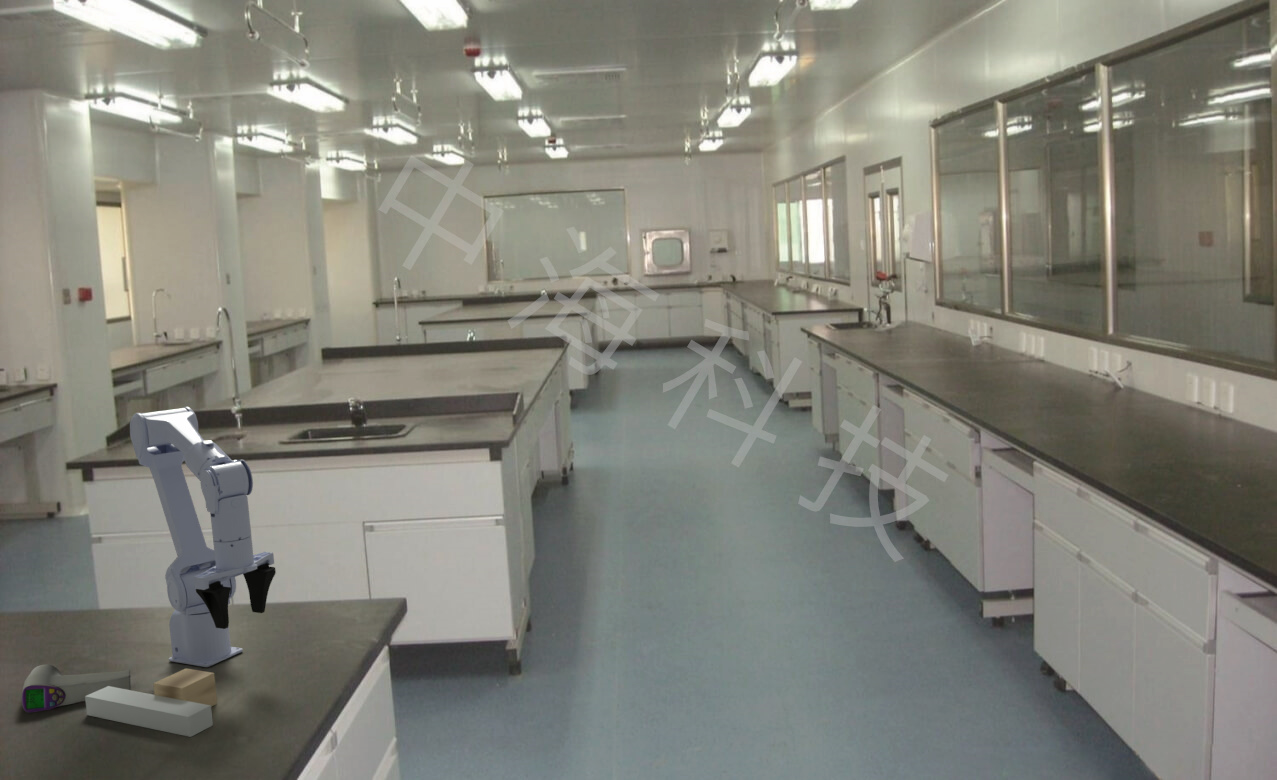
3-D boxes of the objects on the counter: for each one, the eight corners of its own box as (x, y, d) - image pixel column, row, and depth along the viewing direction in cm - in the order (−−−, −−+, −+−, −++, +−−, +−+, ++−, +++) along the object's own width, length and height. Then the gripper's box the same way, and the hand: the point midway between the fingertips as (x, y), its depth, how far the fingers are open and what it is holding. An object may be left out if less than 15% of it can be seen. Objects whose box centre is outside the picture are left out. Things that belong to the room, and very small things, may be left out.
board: (87, 715, 158) (85, 696, 157) (110, 704, 161) (108, 686, 161) (190, 736, 148) (188, 716, 148) (213, 725, 152) (210, 705, 151)
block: (157, 714, 157) (153, 683, 156) (189, 699, 162) (185, 668, 162) (185, 720, 154) (181, 688, 154) (217, 704, 160) (214, 673, 159)
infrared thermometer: (131, 700, 166) (21, 717, 159) (129, 675, 176) (27, 690, 170) (130, 672, 165) (20, 688, 159) (128, 649, 176) (26, 662, 169)
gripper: (214, 551, 158) (223, 637, 160) (284, 527, 171) (292, 607, 173) (181, 548, 161) (190, 632, 163) (252, 525, 174) (260, 603, 176)
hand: (240, 619), depth 168 cm, fingers open, 7 cm apart
